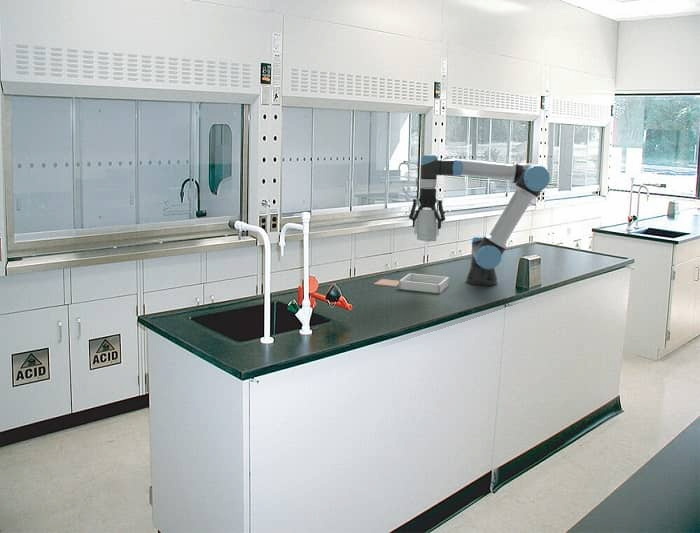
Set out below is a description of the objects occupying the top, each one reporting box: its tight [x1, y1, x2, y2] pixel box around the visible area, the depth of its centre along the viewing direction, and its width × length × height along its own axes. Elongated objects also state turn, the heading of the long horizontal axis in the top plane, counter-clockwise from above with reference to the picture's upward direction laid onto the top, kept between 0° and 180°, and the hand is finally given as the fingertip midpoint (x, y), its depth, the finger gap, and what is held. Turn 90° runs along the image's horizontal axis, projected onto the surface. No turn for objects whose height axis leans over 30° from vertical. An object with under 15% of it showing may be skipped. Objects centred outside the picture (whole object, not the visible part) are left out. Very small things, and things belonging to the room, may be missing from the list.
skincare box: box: [416, 208, 437, 243], centre depth 329 cm, size 8×6×15 cm
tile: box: [373, 278, 399, 288], centre depth 341 cm, size 11×11×1 cm
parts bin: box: [398, 272, 450, 294], centre depth 335 cm, size 20×18×4 cm
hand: (426, 234), depth 330 cm, fingers closed on skincare box, 10 cm apart
